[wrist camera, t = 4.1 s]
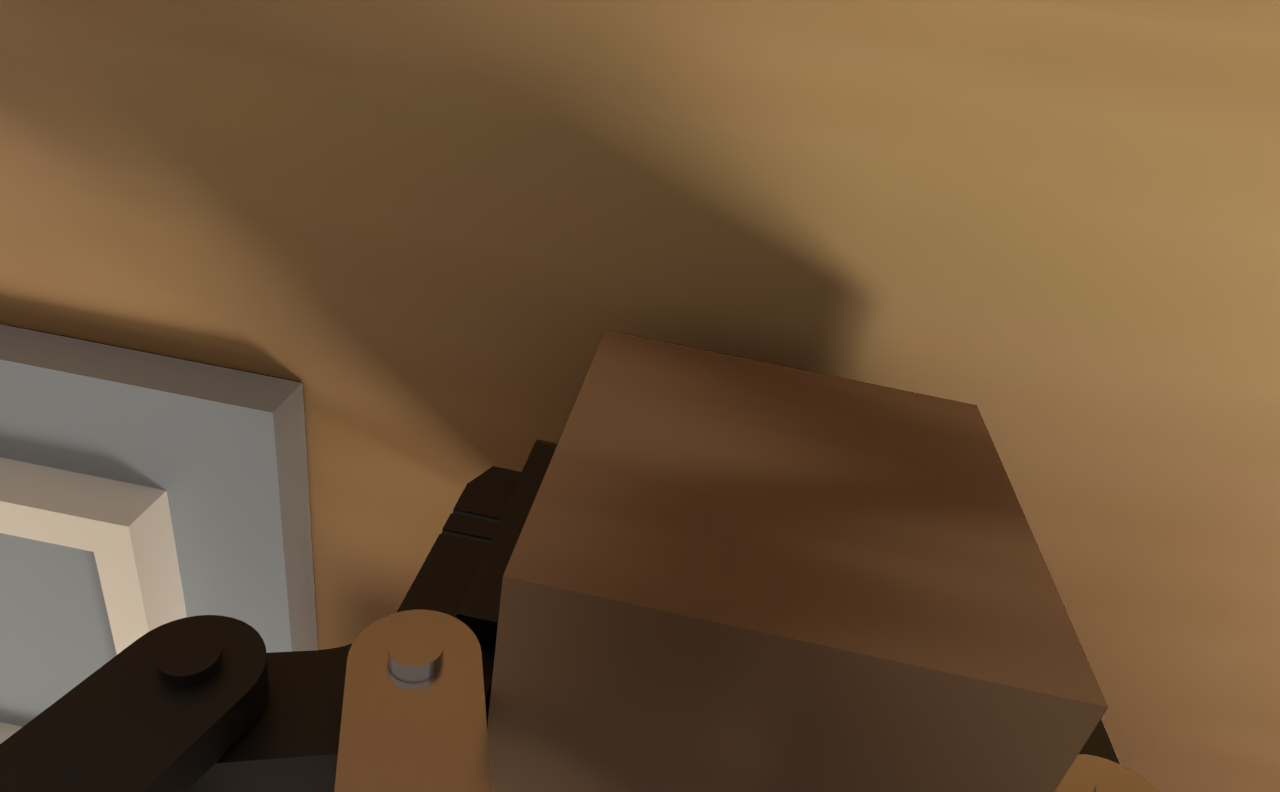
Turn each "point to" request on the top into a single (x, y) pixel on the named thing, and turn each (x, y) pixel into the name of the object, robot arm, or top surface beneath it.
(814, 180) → the top surface
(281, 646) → the baseplate
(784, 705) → the walnut cube
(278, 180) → the top surface
